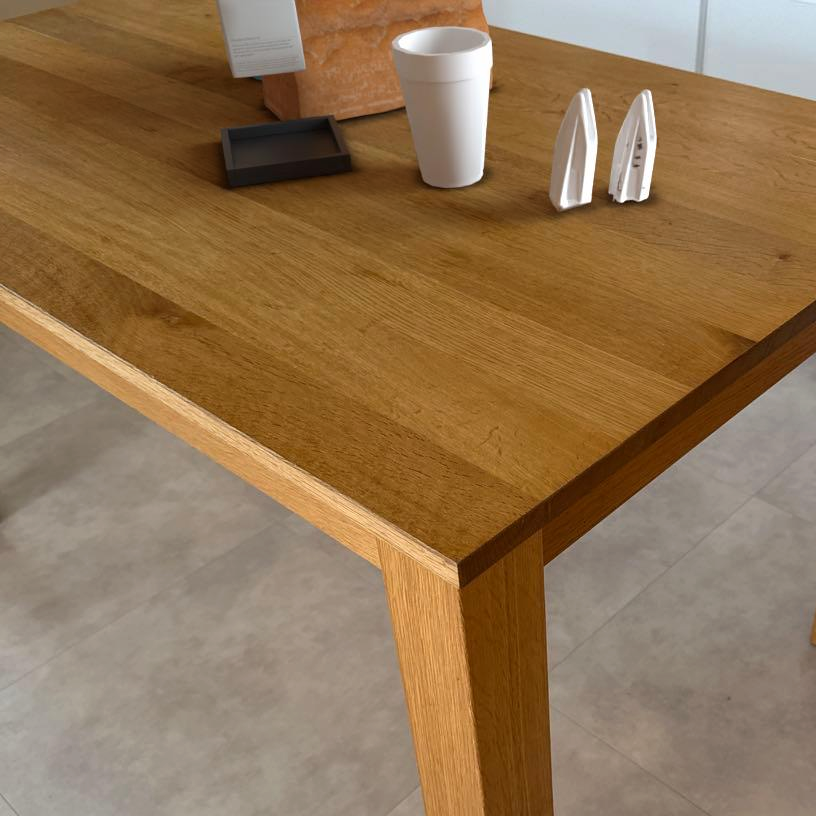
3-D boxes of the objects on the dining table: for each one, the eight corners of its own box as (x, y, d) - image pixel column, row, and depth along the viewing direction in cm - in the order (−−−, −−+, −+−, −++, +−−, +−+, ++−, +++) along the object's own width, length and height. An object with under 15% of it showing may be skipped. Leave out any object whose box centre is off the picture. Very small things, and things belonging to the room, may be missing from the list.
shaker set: (556, 226, 95) (555, 105, 87) (535, 210, 97) (532, 91, 90) (663, 198, 99) (670, 80, 91) (639, 184, 101) (644, 68, 94)
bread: (257, 101, 123) (229, -38, 113) (455, 63, 132) (445, -69, 122) (295, 136, 114) (268, -12, 104) (504, 92, 123) (498, -48, 113)
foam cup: (422, 155, 109) (409, 24, 100) (506, 160, 107) (500, 28, 98) (395, 191, 102) (379, 53, 93) (484, 196, 100) (476, 57, 91)
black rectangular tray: (230, 187, 103) (226, 170, 102) (223, 144, 112) (219, 128, 111) (352, 171, 106) (350, 154, 105) (336, 130, 115) (333, 114, 114)
